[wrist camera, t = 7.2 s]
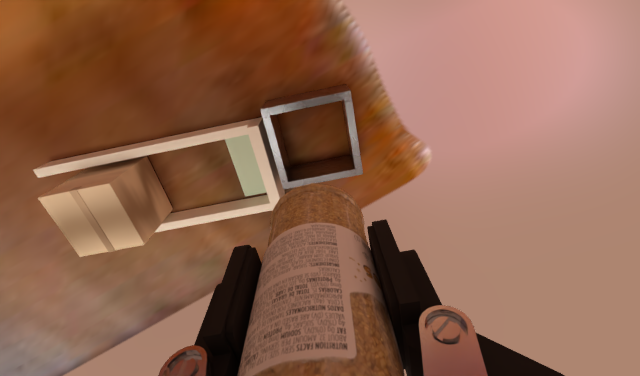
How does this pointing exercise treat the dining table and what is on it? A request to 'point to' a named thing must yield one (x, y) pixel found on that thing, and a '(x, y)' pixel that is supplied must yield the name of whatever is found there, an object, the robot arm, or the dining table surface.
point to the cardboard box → (109, 206)
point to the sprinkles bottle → (319, 294)
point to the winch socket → (319, 169)
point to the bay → (241, 139)
